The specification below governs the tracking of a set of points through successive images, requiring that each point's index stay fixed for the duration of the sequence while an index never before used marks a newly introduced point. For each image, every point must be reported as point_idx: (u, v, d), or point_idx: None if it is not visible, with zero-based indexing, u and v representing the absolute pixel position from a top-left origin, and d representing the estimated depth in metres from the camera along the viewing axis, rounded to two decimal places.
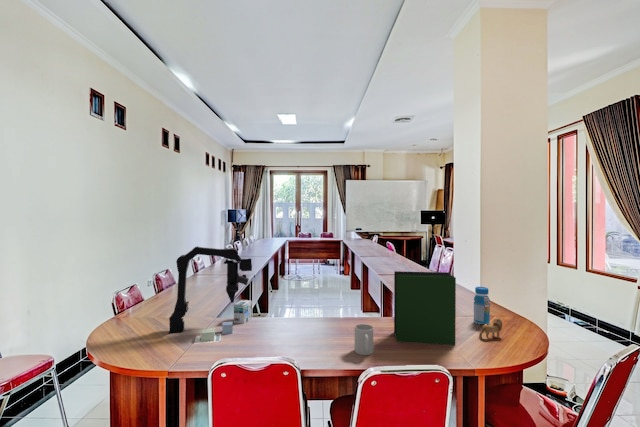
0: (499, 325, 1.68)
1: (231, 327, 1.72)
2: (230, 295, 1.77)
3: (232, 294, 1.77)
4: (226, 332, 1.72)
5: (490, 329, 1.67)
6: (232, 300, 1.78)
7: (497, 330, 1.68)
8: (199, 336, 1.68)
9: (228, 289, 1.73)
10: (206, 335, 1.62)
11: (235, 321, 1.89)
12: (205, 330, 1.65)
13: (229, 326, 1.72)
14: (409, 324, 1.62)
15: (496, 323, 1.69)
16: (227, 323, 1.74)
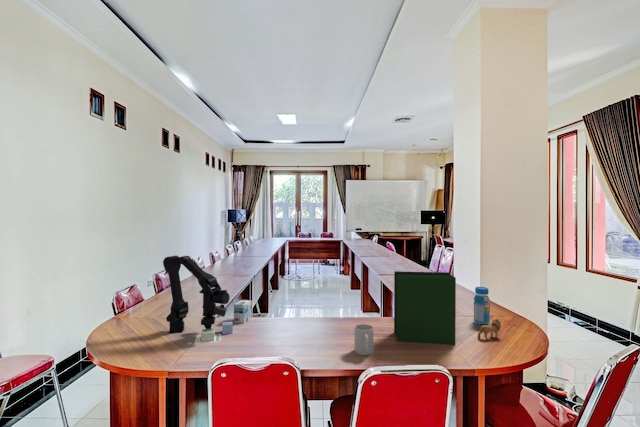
0: (497, 325, 1.68)
1: (231, 327, 1.72)
2: (206, 326, 1.68)
3: (208, 325, 1.68)
4: (226, 332, 1.72)
5: (488, 329, 1.67)
6: None
7: (495, 330, 1.67)
8: (199, 336, 1.68)
9: (203, 323, 1.60)
10: (206, 336, 1.62)
11: (235, 321, 1.89)
12: (205, 330, 1.65)
13: (229, 326, 1.72)
14: (409, 324, 1.62)
15: (494, 323, 1.68)
16: (227, 323, 1.74)
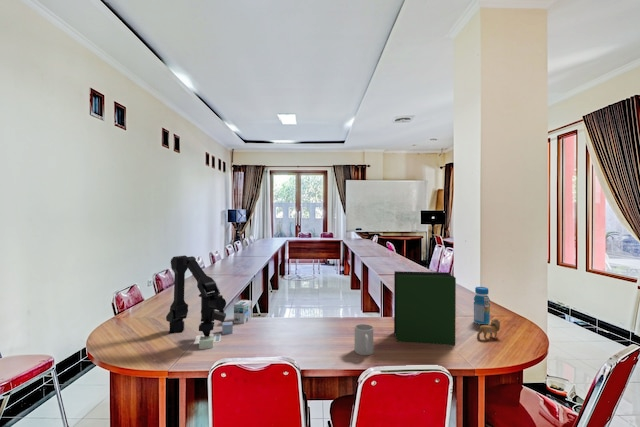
0: (497, 325, 1.68)
1: (231, 327, 1.72)
2: (205, 332, 1.59)
3: (207, 331, 1.59)
4: (226, 332, 1.72)
5: (488, 329, 1.66)
6: None
7: (495, 330, 1.67)
8: (199, 336, 1.68)
9: (201, 329, 1.51)
10: (205, 344, 1.53)
11: (235, 321, 1.89)
12: (203, 338, 1.56)
13: (229, 326, 1.72)
14: (409, 324, 1.62)
15: (494, 323, 1.68)
16: (227, 323, 1.74)
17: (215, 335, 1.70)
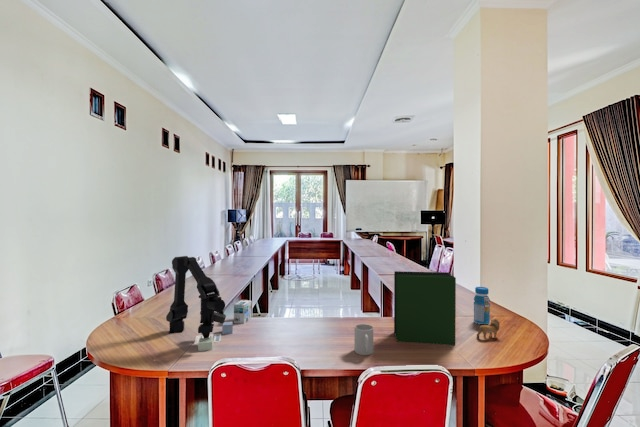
0: (496, 325, 1.68)
1: (231, 327, 1.72)
2: (204, 334, 1.57)
3: (206, 332, 1.57)
4: (226, 332, 1.72)
5: (487, 329, 1.66)
6: None
7: (494, 330, 1.67)
8: (199, 336, 1.68)
9: (200, 331, 1.49)
10: (204, 346, 1.51)
11: (235, 321, 1.89)
12: (203, 340, 1.54)
13: (229, 326, 1.72)
14: (409, 324, 1.62)
15: (493, 323, 1.68)
16: (226, 323, 1.74)
17: (215, 335, 1.70)
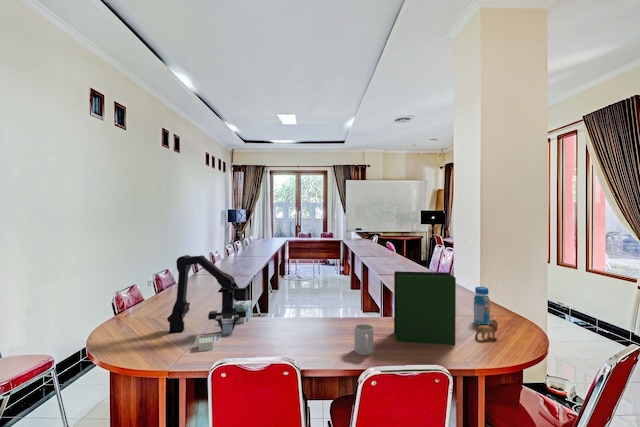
0: (494, 326, 1.67)
1: (231, 327, 1.72)
2: None
3: None
4: (226, 332, 1.72)
5: (486, 330, 1.66)
6: (221, 328, 1.74)
7: (493, 331, 1.67)
8: (199, 336, 1.68)
9: None
10: (205, 346, 1.51)
11: None
12: (202, 340, 1.54)
13: (229, 325, 1.72)
14: (409, 324, 1.62)
15: (491, 324, 1.68)
16: (226, 323, 1.74)
17: (215, 335, 1.70)
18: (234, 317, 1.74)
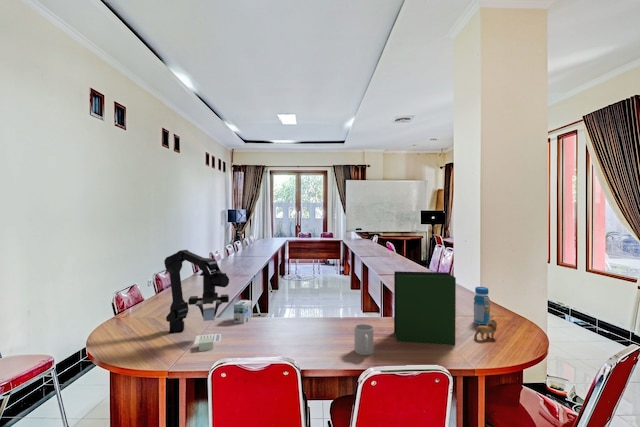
0: (494, 326, 1.67)
1: (213, 313, 1.64)
2: None
3: None
4: (207, 318, 1.63)
5: (485, 330, 1.66)
6: (202, 314, 1.65)
7: (492, 331, 1.67)
8: (199, 336, 1.68)
9: None
10: (205, 346, 1.51)
11: (235, 321, 1.89)
12: (202, 340, 1.54)
13: (211, 311, 1.64)
14: (409, 324, 1.62)
15: (491, 324, 1.68)
16: (208, 308, 1.66)
17: (215, 335, 1.70)
18: (216, 302, 1.66)
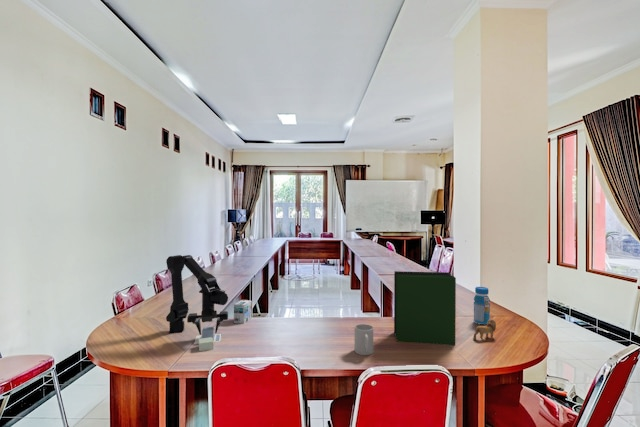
0: (493, 326, 1.67)
1: (211, 332, 1.63)
2: None
3: None
4: None
5: (484, 330, 1.66)
6: None
7: (491, 331, 1.67)
8: (199, 336, 1.68)
9: None
10: (205, 346, 1.51)
11: (235, 321, 1.89)
12: (202, 340, 1.54)
13: (209, 331, 1.63)
14: (409, 324, 1.62)
15: (490, 324, 1.67)
16: (207, 328, 1.65)
17: (215, 335, 1.70)
18: (217, 320, 1.65)
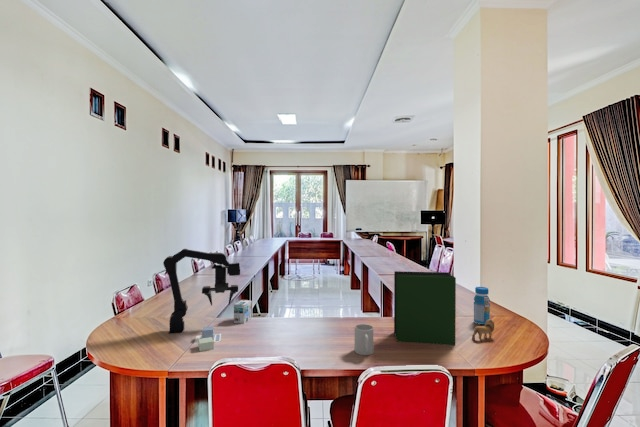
0: (491, 326, 1.67)
1: (211, 332, 1.63)
2: None
3: None
4: None
5: (483, 330, 1.65)
6: None
7: (489, 331, 1.66)
8: (199, 336, 1.68)
9: None
10: (205, 346, 1.51)
11: (235, 321, 1.89)
12: (202, 340, 1.54)
13: (209, 331, 1.63)
14: (409, 324, 1.62)
15: (488, 324, 1.67)
16: (207, 328, 1.65)
17: (215, 335, 1.70)
18: (230, 292, 1.83)
